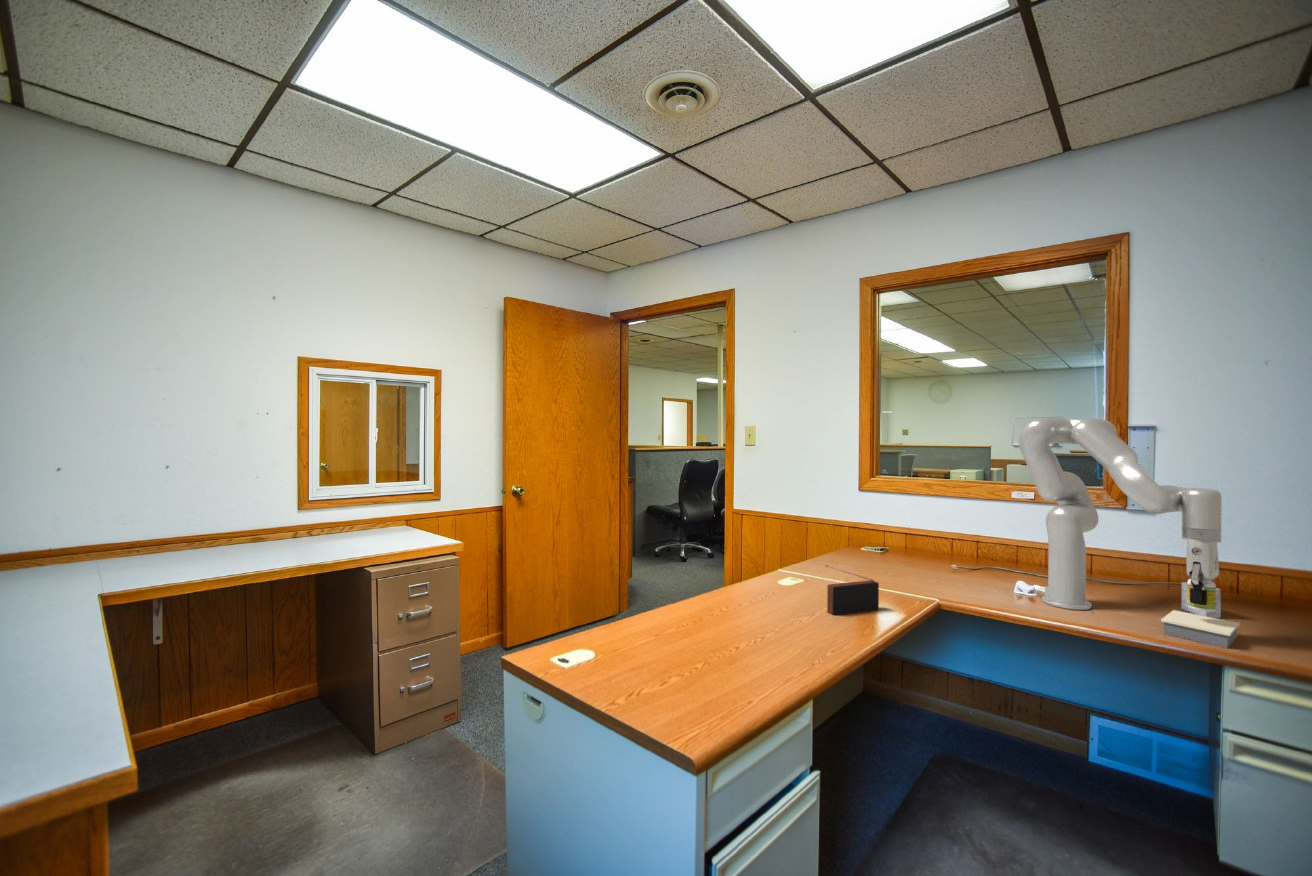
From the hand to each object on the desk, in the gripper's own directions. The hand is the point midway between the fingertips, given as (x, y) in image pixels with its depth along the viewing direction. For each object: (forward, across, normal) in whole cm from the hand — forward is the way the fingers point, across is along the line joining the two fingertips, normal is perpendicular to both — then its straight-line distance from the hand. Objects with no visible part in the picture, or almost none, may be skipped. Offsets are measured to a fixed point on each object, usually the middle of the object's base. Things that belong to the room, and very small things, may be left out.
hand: (1201, 601), depth 146 cm
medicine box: (+10, +25, +4) cm, 27 cm away
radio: (+9, -59, +67) cm, 90 cm away
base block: (+9, 0, 0) cm, 9 cm away
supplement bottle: (+2, 0, 0) cm, 2 cm away
